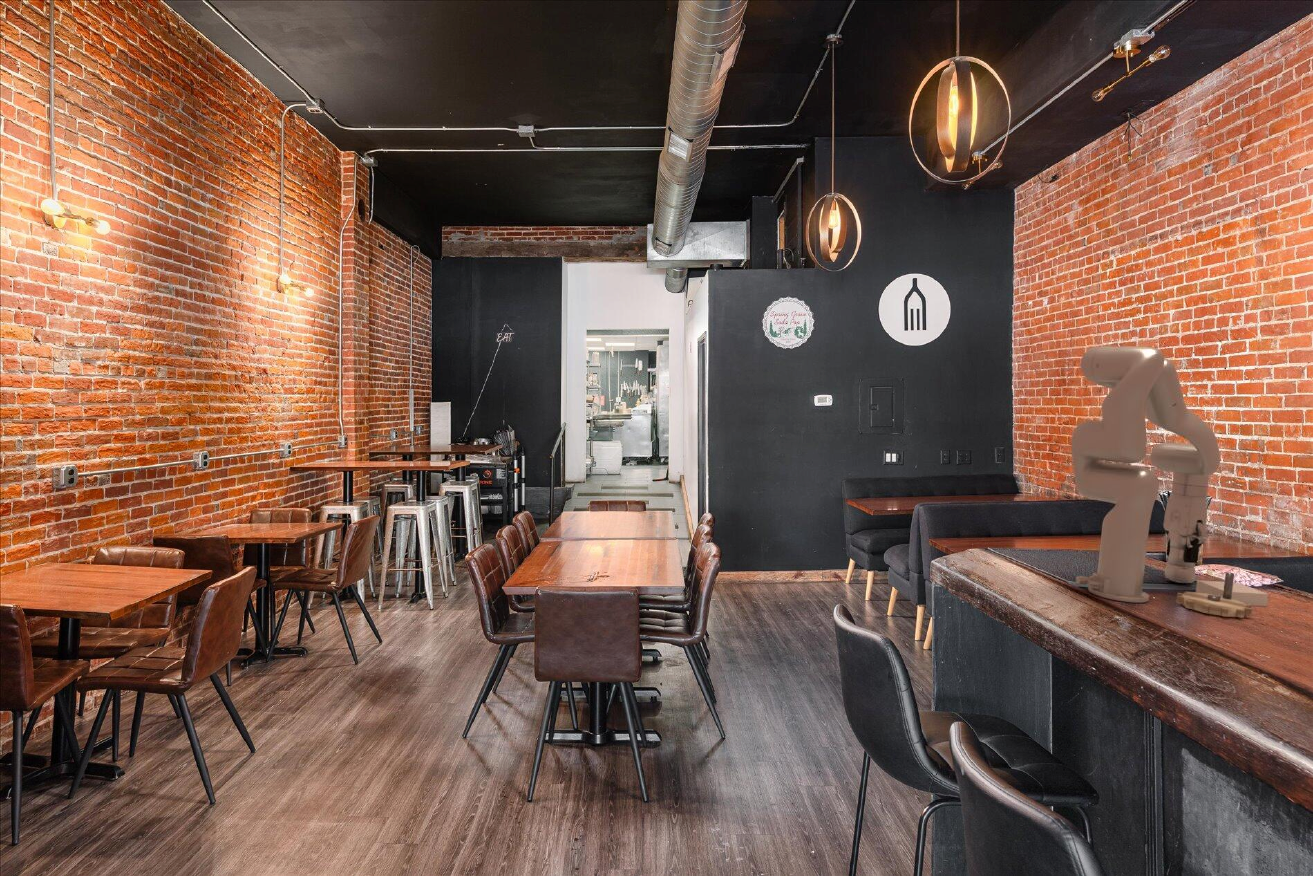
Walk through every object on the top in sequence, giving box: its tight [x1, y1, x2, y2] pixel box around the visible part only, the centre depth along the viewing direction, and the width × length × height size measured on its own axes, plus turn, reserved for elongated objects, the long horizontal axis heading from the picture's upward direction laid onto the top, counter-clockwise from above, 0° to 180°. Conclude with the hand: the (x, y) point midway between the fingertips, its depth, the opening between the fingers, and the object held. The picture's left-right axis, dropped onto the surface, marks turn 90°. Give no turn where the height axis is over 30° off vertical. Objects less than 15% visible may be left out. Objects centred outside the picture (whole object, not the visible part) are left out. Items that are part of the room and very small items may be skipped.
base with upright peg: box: [1175, 571, 1253, 619], centre depth 174 cm, size 14×14×8 cm
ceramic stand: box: [1195, 579, 1270, 607], centre depth 185 cm, size 10×10×3 cm
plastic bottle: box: [1164, 522, 1196, 583], centre depth 197 cm, size 6×7×20 cm
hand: (1181, 558), depth 198 cm, fingers open, 6 cm apart
